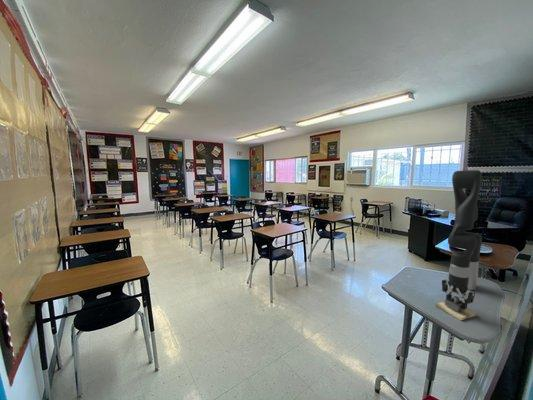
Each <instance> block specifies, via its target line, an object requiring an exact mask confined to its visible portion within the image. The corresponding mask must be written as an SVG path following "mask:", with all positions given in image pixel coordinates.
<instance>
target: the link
mask: <svg viewBox="0 0 533 400" xmlns="http://www.w3.org/2000/svg"><path fill="white" fill-rule="evenodd" d="M444 300H445V305H446V306H448V307H450V308H452V309H454V310H456V311H457V312H459V311H462V310H466V309H467V308H468V307H467V308H466V309H461V304H462V300H461V299H459V303H458V304H456V303H454V296H452V298H449V299H446V298H445V299H444Z"/></svg>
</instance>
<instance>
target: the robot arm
mask: <svg viewBox="0 0 533 400" xmlns="http://www.w3.org/2000/svg"><path fill="white" fill-rule="evenodd" d="M482 175H483V174H482V172H481V171H480V169H471V170H456V171H453V174H452V178H451V181H452V182H451V183H452V189H453V194H454V195H453V196H454V204H455V205H454V210H455V211H454V212H455V216H454V223H453V227H452V231H451V232H450V234H449V236H448V238H447V244H448V245H449V246H450V247H451V248H455V249H461V250H464V251H453V252H452V253H451V256H450V264H449V270H448V279H442V280H441V289H442V290H441V291H442V292H444V294H446V296H445V300H446V299H449V298H452V297H453V296H452V294H453V293H455V294H457V295H458V297H459V299H460V300H461V301H462V304H461V309H466V308H468V305H469V304H472V303H474V299H475V295H476V292H475V290H476V289H477V288H478V287H477V286H478V277H479V266H480V264H479V263H480V256H481V255H480V254H481V249H482V243H483V237H482V235H481V233H477V232H470V230H473V229H474V223H476V221H477V219H478V216H479V210H478V209H479V208H478V205H477V204H478V201H479V196H480V191H481V187H482V181H483V176H482ZM464 189H467V190H468V189H469V190H470V189H471V191H470V193H469V196H468V195H467V194H466V193H465V191H464Z"/></svg>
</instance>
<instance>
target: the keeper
mask: <svg viewBox="0 0 533 400" xmlns="http://www.w3.org/2000/svg"><path fill="white" fill-rule="evenodd" d="M453 297H454V303H456V304H458V303H459V300H460V296H455V295H454V296H453ZM435 307H436V308H438V309H440V310H442V311H443V312H445V313H446V314H449V316H452V317H454V318H455V319H458V320H460V321H463V320H466V319H470V318H473V317H477V316H478V312H476V311H474V310H472V309H470V308H468V307H467V309H466V310H462V311H459V312H457V311H456V310H454V309H452V308H450V307H448V306H446V305H445V301H442V302H437V303H435Z"/></svg>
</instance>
